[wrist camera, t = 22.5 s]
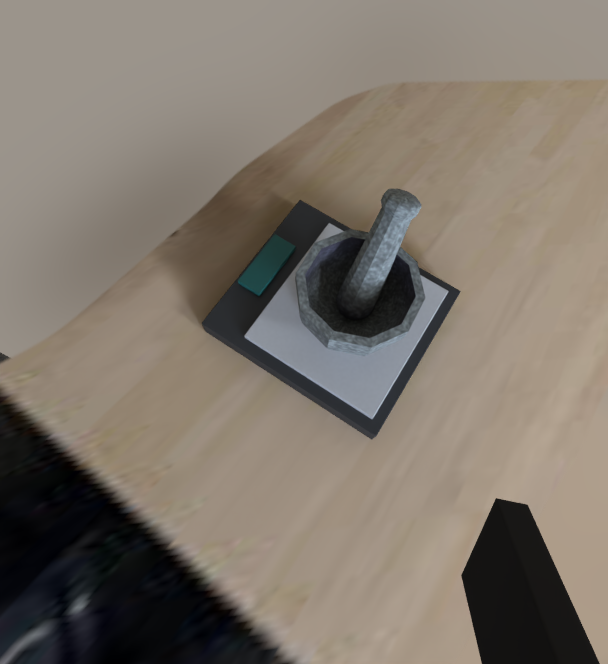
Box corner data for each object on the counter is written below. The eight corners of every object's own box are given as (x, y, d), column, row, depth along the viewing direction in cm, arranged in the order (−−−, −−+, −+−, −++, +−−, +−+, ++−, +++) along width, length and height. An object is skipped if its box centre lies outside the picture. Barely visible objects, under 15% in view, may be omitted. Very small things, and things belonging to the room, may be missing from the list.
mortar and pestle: (371, 393, 38) (406, 347, 27) (274, 340, 40) (270, 275, 28) (424, 288, 42) (476, 209, 31) (334, 243, 43) (352, 152, 32)
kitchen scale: (204, 331, 42) (199, 320, 40) (299, 211, 47) (300, 195, 45) (371, 439, 40) (377, 435, 37) (453, 300, 45) (463, 288, 42)
